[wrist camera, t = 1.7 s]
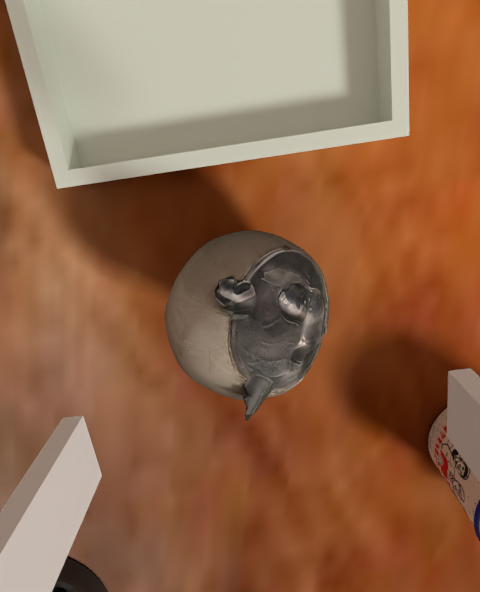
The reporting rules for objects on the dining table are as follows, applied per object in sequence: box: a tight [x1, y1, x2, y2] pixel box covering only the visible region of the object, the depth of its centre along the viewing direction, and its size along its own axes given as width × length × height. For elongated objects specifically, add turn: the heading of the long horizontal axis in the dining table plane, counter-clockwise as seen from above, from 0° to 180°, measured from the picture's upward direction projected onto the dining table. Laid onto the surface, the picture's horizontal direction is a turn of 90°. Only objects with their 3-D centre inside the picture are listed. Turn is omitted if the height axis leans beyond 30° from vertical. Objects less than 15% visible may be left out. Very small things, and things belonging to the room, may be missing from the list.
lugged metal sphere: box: [165, 231, 329, 421], centre depth 27 cm, size 10×12×10 cm
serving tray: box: [5, 0, 409, 189], centre depth 25 cm, size 22×17×4 cm
